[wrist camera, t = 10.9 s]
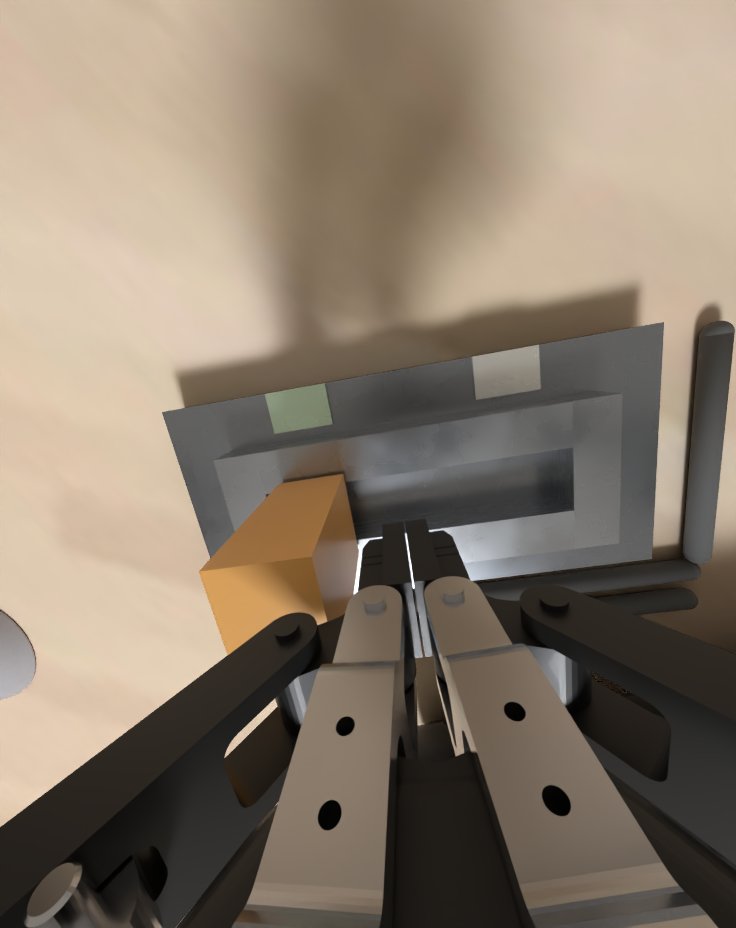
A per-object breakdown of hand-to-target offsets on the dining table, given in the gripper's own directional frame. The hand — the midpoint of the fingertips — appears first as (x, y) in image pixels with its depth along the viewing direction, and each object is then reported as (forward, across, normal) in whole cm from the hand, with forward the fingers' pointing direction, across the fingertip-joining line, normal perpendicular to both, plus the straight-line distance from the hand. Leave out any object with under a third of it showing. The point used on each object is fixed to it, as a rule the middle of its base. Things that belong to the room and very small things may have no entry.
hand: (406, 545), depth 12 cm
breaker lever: (+6, +4, 0) cm, 7 cm away
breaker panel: (+8, -1, 0) cm, 8 cm away
